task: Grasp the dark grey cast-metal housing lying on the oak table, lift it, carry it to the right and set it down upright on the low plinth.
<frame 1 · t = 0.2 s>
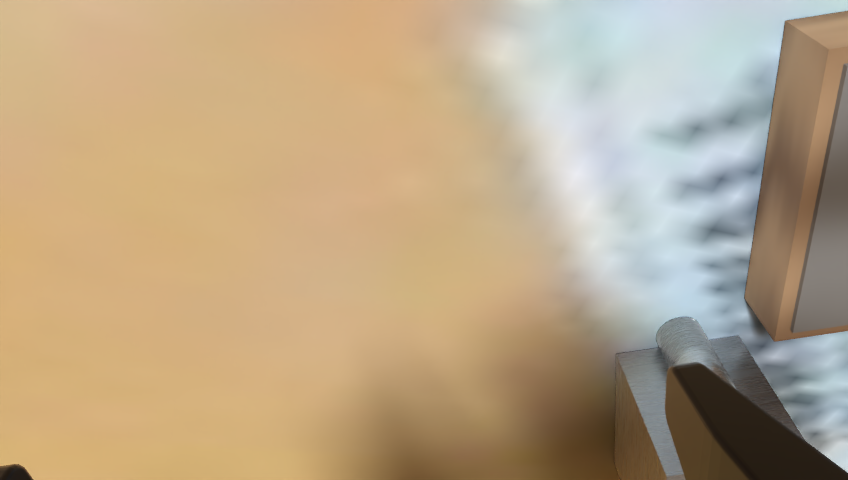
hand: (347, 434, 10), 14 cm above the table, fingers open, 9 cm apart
housing: (672, 403, 31), on the table
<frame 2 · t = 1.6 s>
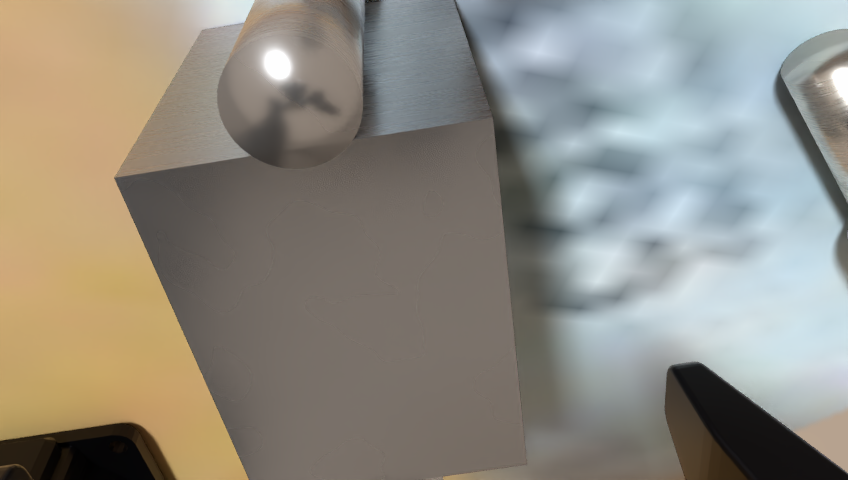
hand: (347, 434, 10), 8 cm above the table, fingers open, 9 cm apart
loose bolt: (841, 126, 17), on the table
housing: (359, 163, 16), on the table
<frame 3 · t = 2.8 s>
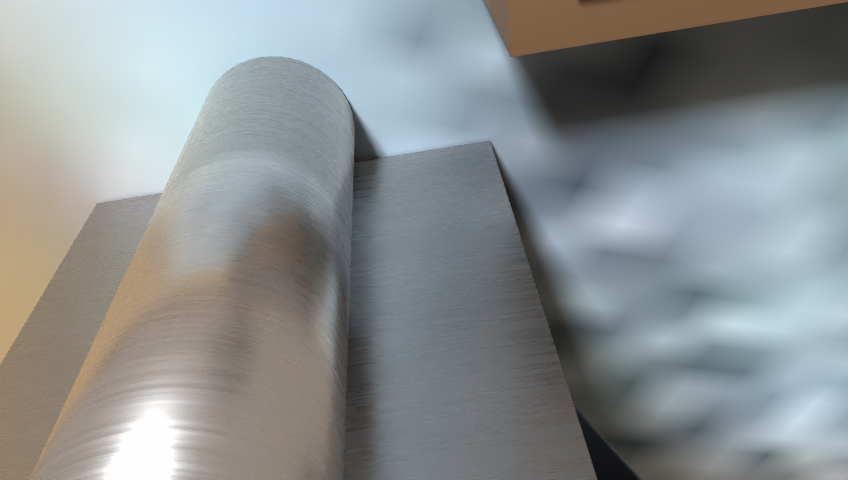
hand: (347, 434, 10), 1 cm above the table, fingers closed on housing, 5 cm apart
housing: (348, 371, 11), on the table, touching gripper
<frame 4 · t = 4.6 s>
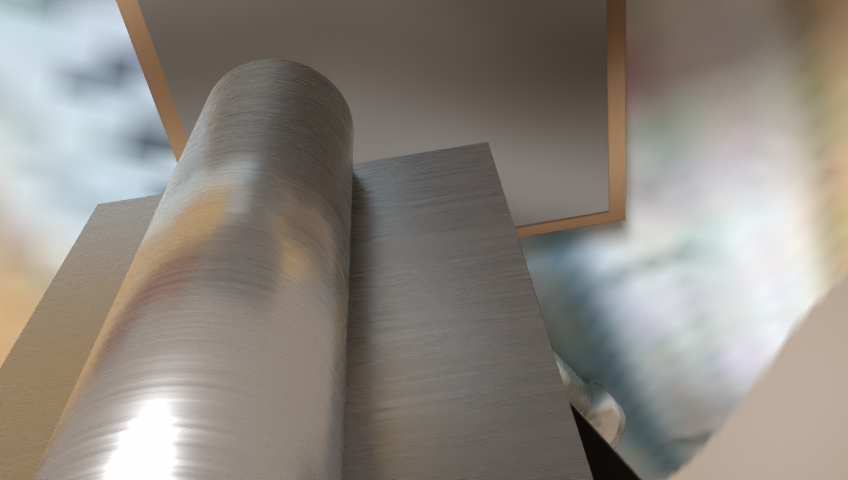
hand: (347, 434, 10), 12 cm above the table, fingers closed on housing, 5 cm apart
loose bolt: (530, 351, 25), on the table
plinth: (384, 26, 19), on the table
housing: (347, 371, 11), point 10 cm above the table, touching gripper
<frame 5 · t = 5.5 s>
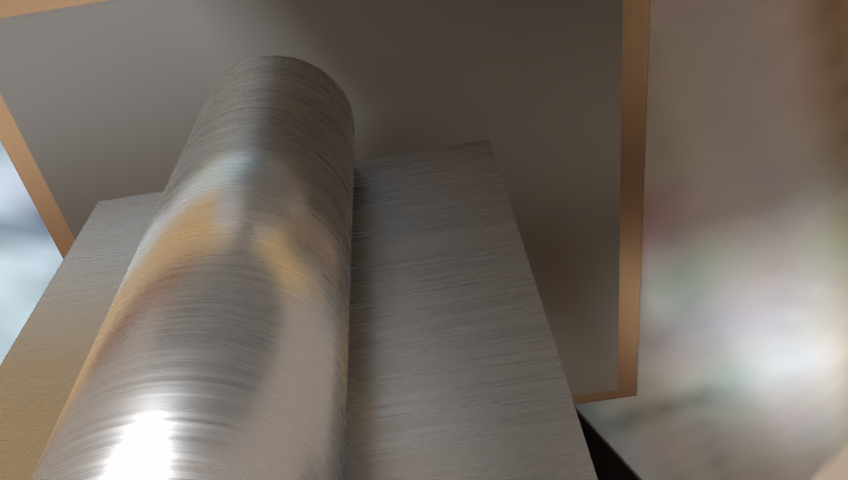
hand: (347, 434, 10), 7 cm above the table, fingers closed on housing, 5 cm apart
plinth: (357, 174, 16), on the table
housing: (348, 369, 11), point 6 cm above the table, touching gripper
when the fingers open (5 cm above the table, at t = 6.3 s): housing stays where it is, resting on plinth.
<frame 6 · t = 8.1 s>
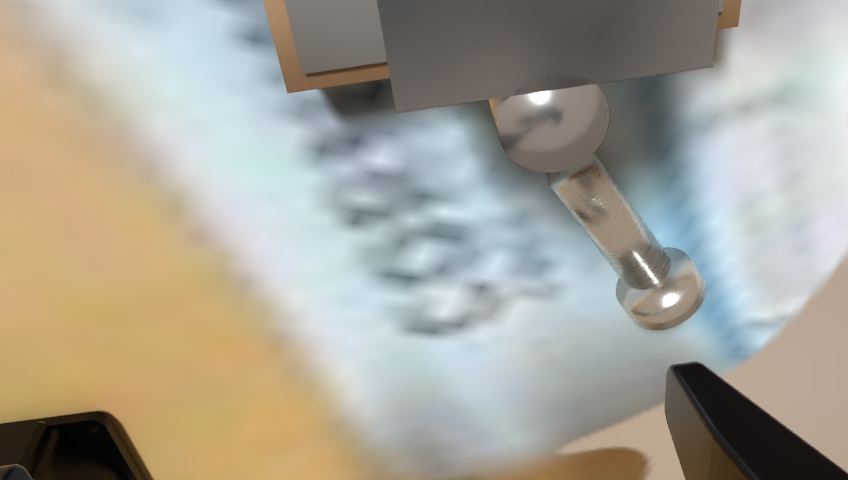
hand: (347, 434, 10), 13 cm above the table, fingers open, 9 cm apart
loose bolt: (604, 209, 23), on the table
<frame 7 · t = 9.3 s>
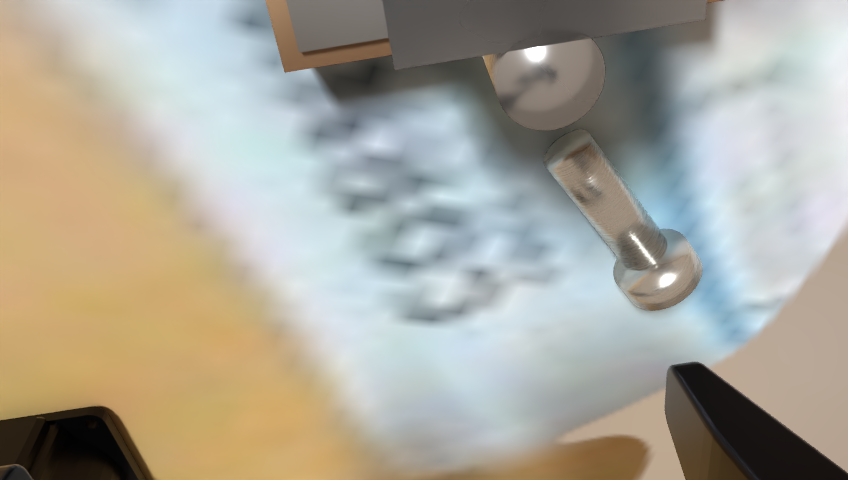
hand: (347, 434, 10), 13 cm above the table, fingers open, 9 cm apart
loose bolt: (600, 191, 23), on the table
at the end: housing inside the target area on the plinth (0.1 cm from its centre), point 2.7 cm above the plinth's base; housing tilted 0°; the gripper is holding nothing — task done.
